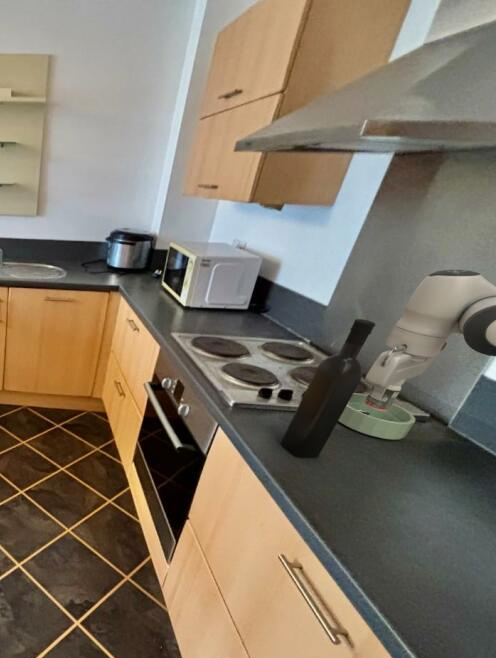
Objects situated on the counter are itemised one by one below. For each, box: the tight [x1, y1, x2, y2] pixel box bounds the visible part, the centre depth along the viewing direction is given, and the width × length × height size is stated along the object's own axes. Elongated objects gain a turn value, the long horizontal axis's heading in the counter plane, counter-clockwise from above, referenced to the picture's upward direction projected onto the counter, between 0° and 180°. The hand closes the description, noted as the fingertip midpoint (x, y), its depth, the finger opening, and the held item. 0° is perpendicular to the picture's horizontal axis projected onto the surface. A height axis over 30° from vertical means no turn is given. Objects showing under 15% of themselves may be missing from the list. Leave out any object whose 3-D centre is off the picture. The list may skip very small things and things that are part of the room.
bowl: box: [338, 392, 416, 441], centre depth 102 cm, size 15×15×5 cm
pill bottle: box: [364, 379, 406, 411], centre depth 99 cm, size 5×5×8 cm
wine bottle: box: [280, 318, 376, 458], centre depth 84 cm, size 6×6×30 cm
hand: (382, 395), depth 100 cm, fingers closed on pill bottle, 5 cm apart
